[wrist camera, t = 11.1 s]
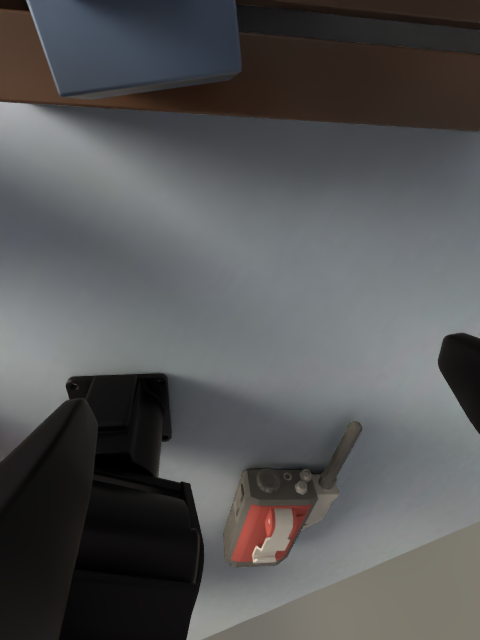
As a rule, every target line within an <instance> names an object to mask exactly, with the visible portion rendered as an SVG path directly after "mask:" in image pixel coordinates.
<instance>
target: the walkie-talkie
mask: <svg viewBox="0 0 480 640" xmlns="http://www.w3.org/2000/svg"><path fill="white" fill-rule="evenodd" d="M361 431H362V425H361V424H360V423H359V422H357V421H352V422H350V423H349V425H348V427H347V429H346V431H345V433H344V435H343V437H342V439H341V441H340V443H339V445H338V447H337V449H336V451H335V453H334V455H333V457H332V459H331V461H330V462H329V464H328V466H327V468H326V470H324V471H323V472H322V474H321V475H317V474H311V472H310V471H309V470H308V469H304V470H273V469H270V468H265V469H249V470H246V471H245V472H243V473H242V476H241V479H240V482H239V485H238V488H237V492H236V495H235V498H234V503H233V504H232V505H233V506H232V507H231V508H232V509H231V510H230V511H231V512H230V515H229V518H228V521H227V524H226V527H225V530H224V533H223V539H224V553H225V560H226V561H227V562H228V563H229V564H230V565H232V566H233V567H253V566H274V565H278V564H279V563H280V562H281V561H283V560H284V559H285V558H286V557H287V556H288V555H289V552H290V550H291V549H292V547H293V544H294V543H295V541H296V539H297V538H298V535H299V533H300V532H301V529H306V528H308V527H310V526H312V525H313V524H315V523H317V522H319V521H321V520H322V519H323V518H324V516H325V515H326V513H327V511H328V510H329V508H330V506H331V504H332V503H333V501H334V500H335V499H336V498H337V497H338V495H339V490H338V488H337V485H336V483H335V482H336V480H337V475H338V473H339V471H340V469H341V468H342V466H343V464H344V462H345V460H346V458H347V457H348V455H349V453H350V451H351V449H352V448H353V446H354V444H355V442H356V440H357V438H358V437H359V435H360V433H361Z"/></svg>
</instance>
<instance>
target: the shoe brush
mask: <svg viewBox="0 0 480 640" xmlns="http://www.w3.org/2000/svg"><path fill="white" fill-rule="evenodd" d="M26 1H27V4H28V7H29V9H30V12H31V15H32V18H33V21H34V24H35V27H36V30H37V33H38V36H39V39H40V42H41V44H42V47H43V50H44V53H45V56H46V59H47V62H48V65H49V68H50V71H51V74H52V76H53V79H54V82H55V85H56V88H57V91H58V94H59V95H60V96H61V97H64V98H75V99H87V100H94V99H101V98H108V97H115V96H122V95H129V94H136V93H143V92H150V91H157V90H164V89H171V88H178V87H185V86H192V85H200V84H207V83H214V82H221V81H228V80H230V79H232V78H233V77H234V76H235V75H237V74H238V73H239V72H241V70H242V61H241V51H240V40H239V29H238V19H237V8H236V0H26Z"/></svg>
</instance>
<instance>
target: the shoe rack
mask: <svg viewBox="0 0 480 640" xmlns="http://www.w3.org/2000/svg"><path fill="white" fill-rule="evenodd" d="M236 4H241V5H250V6H260V7H269V8H279V9H288V10H297V11H307V12H316V13H326V14H335V15H345V16H354V17H363V18H373V19H382V20H392V21H401V22H411V23H420V24H429V25H439V26H448V27H458V28H467V29H476V30H480V0H236ZM239 40H240V51H241V61H242V70H241V72H239V73H238V74H237V75H235V76H234V77H233V78H232V79H230V80H228V81H221V82H214V83H207V84H200V85H192V86H185V87H178V88H171V89H164V90H157V91H150V92H143V93H136V94H129V95H122V96H115V97H108V98H101V99H94V100H87V99H75V98H64V97H61V96H60V95H59V94H58V91H57V88H56V85H55V82H54V79H53V76H52V74H51V71H50V68H49V65H48V62H47V59H46V56H45V53H44V50H43V47H42V44H41V42H40V39H39V36H38V33H37V30H36V27H35V24H34V21H33V18H32V15H31V12H30V9H29V7H28V4H27V1H26V0H0V102H12V103H28V104H44V105H60V106H76V107H92V108H108V109H124V110H140V111H156V112H172V113H188V114H204V115H220V116H237V117H253V118H269V119H285V120H301V121H317V122H333V123H349V124H365V125H381V126H397V127H413V128H429V129H445V130H461V131H477V132H480V54H472V53H462V52H451V51H441V50H430V49H420V48H410V47H399V46H389V45H378V44H368V43H357V42H347V41H336V40H326V39H315V38H305V37H295V36H284V35H274V34H263V33H253V32H242V31H239Z"/></svg>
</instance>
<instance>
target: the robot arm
mask: <svg viewBox="0 0 480 640" xmlns="http://www.w3.org/2000/svg"><path fill="white" fill-rule="evenodd" d="M438 366H439V369H440V371H441V373H442V375H443V376H444V378H445V380H446V381H447V383H448V385H449V386H450V388H451V390H452V392H453V393H454V395H455V397H456V398H457V400H458V402H459V403H460V405H461V407H462V409H463V410H464V412H465V414H466V415H467V417H468V418H469V420H470V422H471V423H472V424H473V426H474V427H475V429H476V430H477V432H478V433H479V434H480V338H477V337H474V336H472V335H469V334H466V333H456V334H450V335H447V336H445V338H444V339H443V342H442V346H441V350H440V354H439V358H438ZM158 380H162V382H159V381H158ZM74 384H77V385H74ZM66 389H67V392H68V396H69V399H70V400H67V401H65V402H64V403H63V404H62V405H60V406H59V407H58V408H57V409H56V410H55V411H54V412H53V413H52V414H51V415H50V416H49V417H48V418H47V419H46V420H45V421H44V422H43V423H41V424H40V425H39V426H38V427H37V428H36V429H35V430H34V431H33V432H32V433H31V434H30V435H29V436H28V437H27V438H26V439H25V440H23V441H22V442H21V443H20V444H19V445H18V446H17V447H16V448H15V449H14V450H13V451H12V452H11V453H10V454H9V455H8V456H7V457H6V458H4V459H3V460H2V461H1V462H0V640H186V638H187V634H188V629H189V624H190V619H191V615H192V611H193V608H194V605H195V602H196V599H197V595H198V592H199V587H200V583H201V579H202V572H203V564H204V545H203V538H202V534H201V529H200V525H199V521H198V516H197V512H196V507H195V503H194V499H193V494H192V490H191V485H190V483H186V482H182V481H181V482H180V483H179V482H175V481H170V480H166V479H162V478H158V475H159V464H160V453H161V442H166V441H169V440H170V439H171V437H172V428H171V414H170V401H169V388H168V378H167V376H166V375H164V374H160V373H158V374H131V375H104V376H76V377H71V378H69V379H68V381H67V383H66Z"/></svg>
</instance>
